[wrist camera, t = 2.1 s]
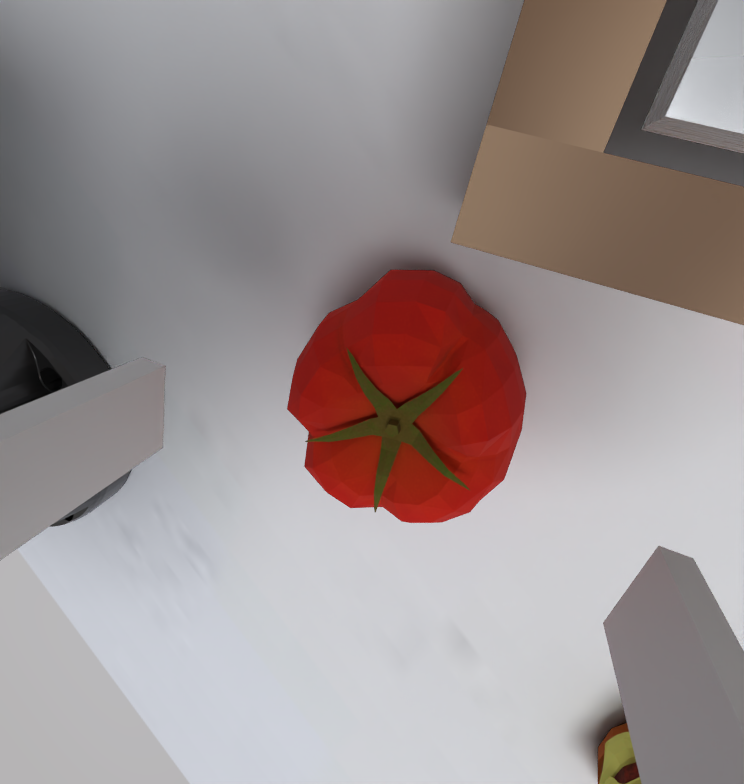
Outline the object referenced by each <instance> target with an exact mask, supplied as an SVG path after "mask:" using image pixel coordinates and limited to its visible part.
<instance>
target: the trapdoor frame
mask: <svg viewBox="0 0 744 784" xmlns="http://www.w3.org/2000/svg"><path fill="white" fill-rule="evenodd" d="M666 1H667V0H524V3H523V6H522V10H521V13H520V16H519V20H518V23H517V26H516V29H515V33H514V36H513V39H512V43H511V46H510V49H509V52H508V56H507V59H506V62H505V65H504V69H503V72H502V75H501V79H500V82H499V85H498V88H497V92H496V95H495V98H494V102H493V105H492V108H491V111H490V115H489V118H488V121H487V125H486V128H485V131H484V134H483V138H482V141H481V144H480V147H479V151H478V154H477V157H476V161H475V164H474V167H473V170H472V174H471V177H470V180H469V184H468V187H467V190H466V193H465V197H464V200H463V203H462V206H461V210H460V213H459V216H458V220H457V223H456V226H455V229H454V233H453V236H452V239H451V243H455V244H458V245H462V246H466V247H469V248H473V249H476V250H480V251H483V252H487V253H490V254H494V255H497V256H501V257H504V258H508V259H512V260H515V261H519V262H522V263H526V264H529V265H533V266H536V267H540V268H543V269H547V270H550V271H554V272H558V273H561V274H565V275H568V276H572V277H575V278H579V279H582V280H586V281H589V282H593V283H596V284H600V285H603V286H607V287H611V288H614V289H618V290H621V291H625V292H628V293H632V294H635V295H639V296H642V297H646V298H649V299H653V300H657V301H660V302H664V303H667V304H671V305H674V306H678V307H681V308H685V309H688V310H692V311H695V312H699V313H703V314H706V315H710V316H713V317H717V318H720V319H724V320H727V321H731V322H734V323H738V324H741V325H744V187H743V186H739V185H735V184H731V183H727V182H722V181H718V180H714V179H710V178H706V177H702V176H698V175H693V174H689V173H685V172H681V171H677V170H673V169H669V168H665V167H660V166H656V165H652V164H648V163H644V162H640V161H636V160H631V159H627V158H623V157H619V156H615V155H611V154H607V153H603V152H604V150H605V147H606V145H607V143H608V140H609V138H610V135H611V133H612V131H613V128H614V126H615V123H616V121H617V119H618V116H619V114H620V111H621V109H622V107H623V104H624V102H625V99H626V97H627V95H628V92H629V90H630V87H631V85H632V83H633V80H634V78H635V75H636V73H637V71H638V68H639V66H640V63H641V61H642V59H643V56H644V54H645V52H646V49H647V47H648V44H649V42H650V40H651V37H652V35H653V32H654V30H655V28H656V25H657V23H658V20H659V18H660V16H661V13H662V11H663V8H664V6H665V4H666Z"/></svg>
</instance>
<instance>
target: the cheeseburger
mask: <svg viewBox="0 0 744 784" xmlns="http://www.w3.org/2000/svg"><path fill="white" fill-rule="evenodd" d="M598 784H641V780H640V776H639V771H638V767H637V763H636V759H635V755H634V750H633V746H632V742H631V738H630V734H629V729H628V725H627V723H625V724H622V725H619V726H617V727H614V728H611V730H610V731H609V733H608V734H607V735H606V737H605V738H604V740H603V741H602V742H601V744H600V745H599V747H598Z"/></svg>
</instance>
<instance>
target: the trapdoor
mask: <svg viewBox="0 0 744 784" xmlns="http://www.w3.org/2000/svg"><path fill="white" fill-rule="evenodd" d="M641 130H644V131H649V132H653V133H657V134H662V135H666V136H670V137H675V138H679V139H683V140H688V141H692V142H696V143H701V144H705V145H709V146H713V147H718V148H722V149H726V150H731V151H735V152H739V153H744V0H698V2H697V4H696V6H695V8H694V11H693V13H692V15H691V17H690V20H689V22H688V24H687V26H686V29H685V31H684V33H683V36H682V38H681V40H680V42H679V45H678V47H677V49H676V51H675V54H674V56H673V58H672V60H671V63H670V65H669V67H668V69H667V72H666V74H665V76H664V79H663V81H662V83H661V85H660V88H659V90H658V92H657V94H656V97H655V99H654V101H653V103H652V106H651V108H650V110H649V112H648V115H647V117H646V119H645V122H644V124H643V126H642V128H641Z"/></svg>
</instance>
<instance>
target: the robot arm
mask: <svg viewBox="0 0 744 784" xmlns="http://www.w3.org/2000/svg"><path fill="white" fill-rule="evenodd" d="M165 367H166V366H165V365H162V364H159V363H157V362H154V361H151V360H148V359H146V358H143V357H141V358H138V359H136V360H133V361H131V362H128V363H126V364H123V365H121V366H118V367H116V368H113V369H111V370H109V369H108V368H107V366H106V365H105V363H104V362H103V360H102V359H101V358H100V356H99V355H98V354H97V352H96V351H95V350H94V349H93V347H92V346H91V345H90V344H89V343H88V342H87V341H86V339H85V338H84V337H83V336H82V335H81V334H80V333H79V332H78V331H77V330H76V329H75V328H74V327H73V326H71V325H70V324H69V323H68V322H67V321H66V320H64V319H63V318H62V317H61V316H59V315H58V314H57V313H55V312H54V311H52V310H51V309H49V308H48V307H46V306H45V305H43V304H41V303H39V302H38V301H36V300H34V299H32V298H29V297H27V296H25V295H22V294H20V293H17V292H14V291H10V290H6V289H0V560H2V559H3V558H5V557H6V556H7V555H9V554H10V553H12V552H13V551H15V550H16V549H17V548H19V547H20V546H22V545H23V544H25V543H26V542H28V541H29V540H30V539H32V538H33V537H35V536H36V535H38V534H39V533H41V532H42V531H43V530H45V529H46V528H48V527H50V526H59V525H64V524H67V523H70V522H72V521H75V520H77V519H79V518H81V517H83V516H85V515H87V514H88V513H90V512H91V511H93V510H94V509H95V508H97V507H98V506H99V505H101V504H102V503H103V502H105V501H106V500H107V499H109V498H110V497H112V496H113V495H114V494H115V493H116V492H118V491H119V489H120V488H121V487H122V486H123V484H124V483H125V481H126V480H127V478H128V475H129V473H130V470H131V469H133V468H134V467H136V466H137V465H139V464H140V463H141V462H143V461H144V460H146V459H147V458H149V457H150V456H152V455H153V454H154V453H156V452H157V451H159V450H160V449H162V448H163V429H164V398H165ZM603 624H604V628H605V633H606V637H607V641H608V645H609V649H610V654H611V658H612V662H613V666H614V670H615V675H616V679H617V683H618V687H619V691H620V696H621V700H622V704H623V708H624V712H625V717H626V721H627V725H628V729H629V734H630V738H631V742H632V746H633V750H634V755H635V759H636V763H637V767H638V771H639V776H640V780H641V784H744V651H743V649H742V648H741V646H740V644H739V642H738V640H737V638H736V636H735V635H734V633H733V631H732V629H731V627H730V625H729V623H728V622H727V620H726V618H725V616H724V614H723V612H722V611H721V609H720V607H719V605H718V603H717V601H716V599H715V598H714V596H713V594H712V592H711V590H710V588H709V587H708V585H707V583H706V581H705V579H704V577H703V575H702V574H701V572H700V570H699V568H698V566H697V564H696V562H695V561H694V559H693V558H691V557H688V556H685V555H682V554H680V553H677V552H674V551H671V550H669V549H666V548H663V547H661V546H658V547H657V549H656V550H655V551H654V553H653V554H652V556H651V557H650V558H649V560H648V561H647V563H646V564H645V565H644V567H643V568H642V569H641V571H640V572H639V574H638V575H637V576H636V578H635V579H634V581H633V582H632V583H631V585H630V586H629V588H628V589H627V590H626V592H625V593H624V595H623V596H622V597H621V599H620V600H619V601H618V603H617V604H616V606H615V607H614V608H613V610H612V611H611V613H610V614H609V615H608V617H607V618H606V620H605V621H604V622H603Z"/></svg>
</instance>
